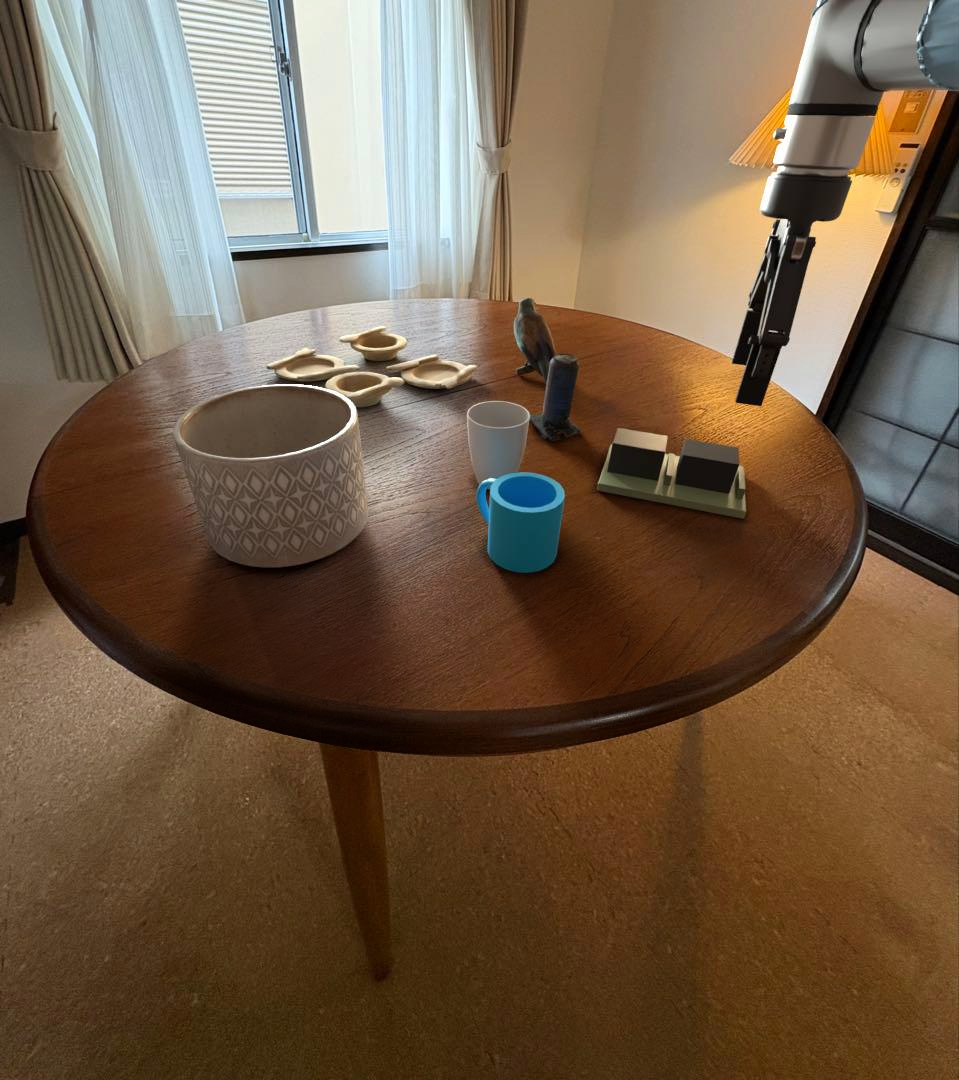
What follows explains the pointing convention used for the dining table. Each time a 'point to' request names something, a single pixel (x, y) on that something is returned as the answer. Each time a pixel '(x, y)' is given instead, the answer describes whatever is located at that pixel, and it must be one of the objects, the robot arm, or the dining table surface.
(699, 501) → the dock
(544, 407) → the dark cylinder on base
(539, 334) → the bird figurine
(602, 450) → the dining table surface
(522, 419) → the cup
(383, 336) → the tableware set
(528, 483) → the mug
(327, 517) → the planter
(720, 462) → the dark grey block
